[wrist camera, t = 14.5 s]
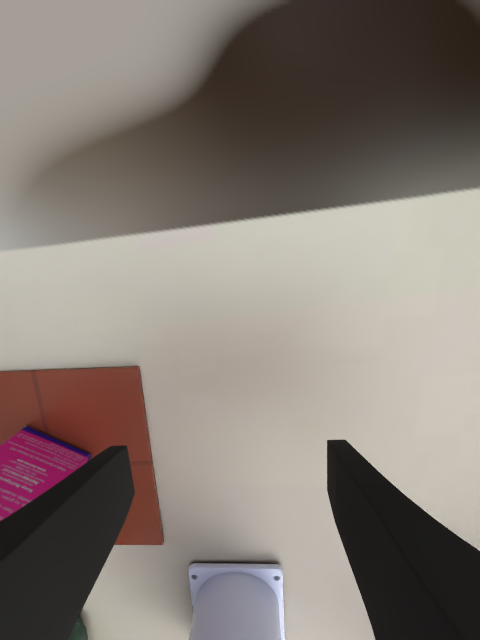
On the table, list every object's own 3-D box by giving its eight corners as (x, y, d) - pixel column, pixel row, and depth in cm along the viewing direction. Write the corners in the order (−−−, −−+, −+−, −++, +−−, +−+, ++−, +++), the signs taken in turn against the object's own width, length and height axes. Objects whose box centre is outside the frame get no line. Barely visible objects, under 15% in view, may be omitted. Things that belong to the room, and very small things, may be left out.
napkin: (163, 541, 24) (162, 545, 23) (-12, 540, 25) (-15, 544, 24) (139, 366, 20) (137, 367, 20) (-63, 373, 21) (-67, 374, 21)
